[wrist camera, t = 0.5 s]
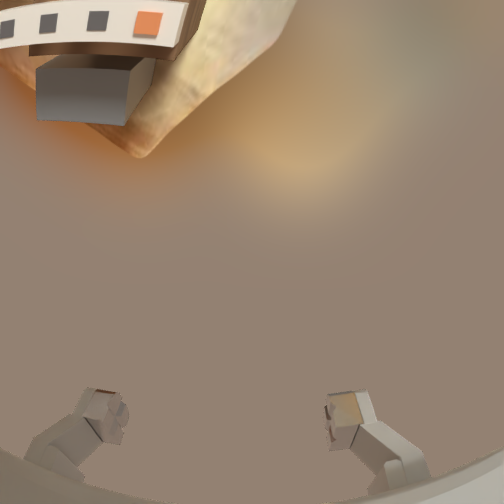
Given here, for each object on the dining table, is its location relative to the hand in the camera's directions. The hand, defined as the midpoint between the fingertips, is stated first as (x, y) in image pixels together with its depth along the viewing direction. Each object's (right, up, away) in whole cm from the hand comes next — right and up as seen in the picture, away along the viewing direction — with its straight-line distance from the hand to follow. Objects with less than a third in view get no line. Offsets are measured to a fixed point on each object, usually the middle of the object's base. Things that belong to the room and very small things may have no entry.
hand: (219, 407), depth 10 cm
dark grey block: (-23, +40, +32) cm, 56 cm away
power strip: (-17, +28, +6) cm, 33 cm away
